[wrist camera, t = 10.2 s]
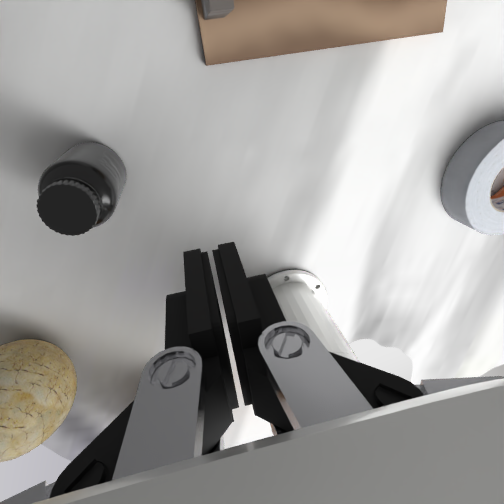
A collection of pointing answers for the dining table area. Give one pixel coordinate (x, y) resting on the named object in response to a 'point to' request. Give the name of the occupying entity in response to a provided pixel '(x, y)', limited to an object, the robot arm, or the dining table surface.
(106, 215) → the supplement bottle
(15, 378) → the fossilized egg
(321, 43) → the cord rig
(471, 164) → the tape roll
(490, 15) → the dining table surface
